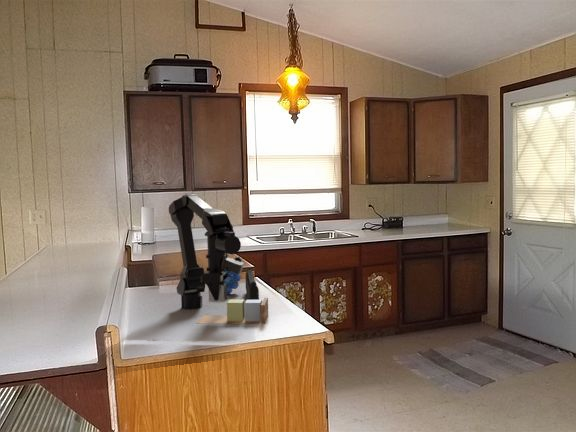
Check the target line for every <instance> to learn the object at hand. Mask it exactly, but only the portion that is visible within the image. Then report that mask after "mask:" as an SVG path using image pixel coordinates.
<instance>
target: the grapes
mask: <svg viewBox="0 0 576 432" xmlns="http://www.w3.org/2000/svg"><path fill="white" fill-rule="evenodd" d="M224 272H225V274H230V275H229V276H228V277H227V278H226V279H225V281H224V283H227V295H230V294H231V293H232V292H233V290H236V289H238V288H239V286H240V284H239V282H240V281H241V280H242V274H241V273H240V274H235V273H234V272H229V271H224Z"/></svg>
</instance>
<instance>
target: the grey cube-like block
mask: <svg viewBox="0 0 576 432" xmlns="http://www.w3.org/2000/svg"><path fill="white" fill-rule="evenodd" d="M227 299H228V294H227V283H221V284H220V291H219V298H218V300H214V298H213V296H212V294H211V292H210V290H209V289H208V301H209V303H210V302H216V303H217V302H219V303H221V302H222V303H224V302H226V300H227Z"/></svg>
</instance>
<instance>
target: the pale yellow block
mask: <svg viewBox="0 0 576 432" xmlns="http://www.w3.org/2000/svg"><path fill="white" fill-rule="evenodd" d="M226 315H227V321H243V320H244V318H245V299H228V300H227V302H226Z"/></svg>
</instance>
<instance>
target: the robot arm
mask: <svg viewBox="0 0 576 432" xmlns="http://www.w3.org/2000/svg"><path fill="white" fill-rule="evenodd" d="M168 213H169V215H170V219H171V222H173V224H174V225H175V226H176V228H177V233H178V239H179V245H180V252H181V253H180V254H181V259H182V264H183V265H182V269H181V271H180V274H179V276H180V277H179V278H180V280H179V281H178V283H177V286H176V292H177V294H178V295H180V299H181V301H180V302H181V309H184V310H195V309H197V310H198V309H202V307H203V296H202V295H201V294H202V293H205V291H206V286H207V288H208V291H209V290H210V292H211V294H212V296H213V298H214V300H218V298H219V291H220V284H221V283H224V281H225V279H226V278H227V277H228V276H229V275H230V274H225V272H224V271H229V272H234V273H235V274H240V275H241V273H242V271H243V268H244V265H245V263H244V262H243V258H242V256H241V257H240V256H239V255H238V256H236V257H235V258H233V257H231V258H230V257H229V255H236V254H237V253H239V251H240V250H241V247H242V243H241V241H240V239H239V237H237V236H236V232H235V231H234V227H233V225H232V223H231V219H230V218H229V216H228V214H227V213H226V212H225V211H223V210H221V209H217V208H214V207H212V206H210V205H209V204H208V203H207V202H206V201H204V200H202V199H201V198H200V196H199V195H198V194H196V193H188V194H187V193H186V194H183V195H182V196H181V197H179V198H177V199H176V200H173V201H172V202H171V203H170V204H169V206H168ZM195 215H196V216H198V217H199V218H200V219H201V224H202V226H203V227H204V228H205V230H206V232H205V233H204V237H207V239H206V242H207V254H206V255H205V259H207V266H206V271H205V269H204V267H203V266H200V265H199V264H198V260H197V254H196V247H195V243H194V235H193V230H192V222H193V219H194V218H195Z"/></svg>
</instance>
